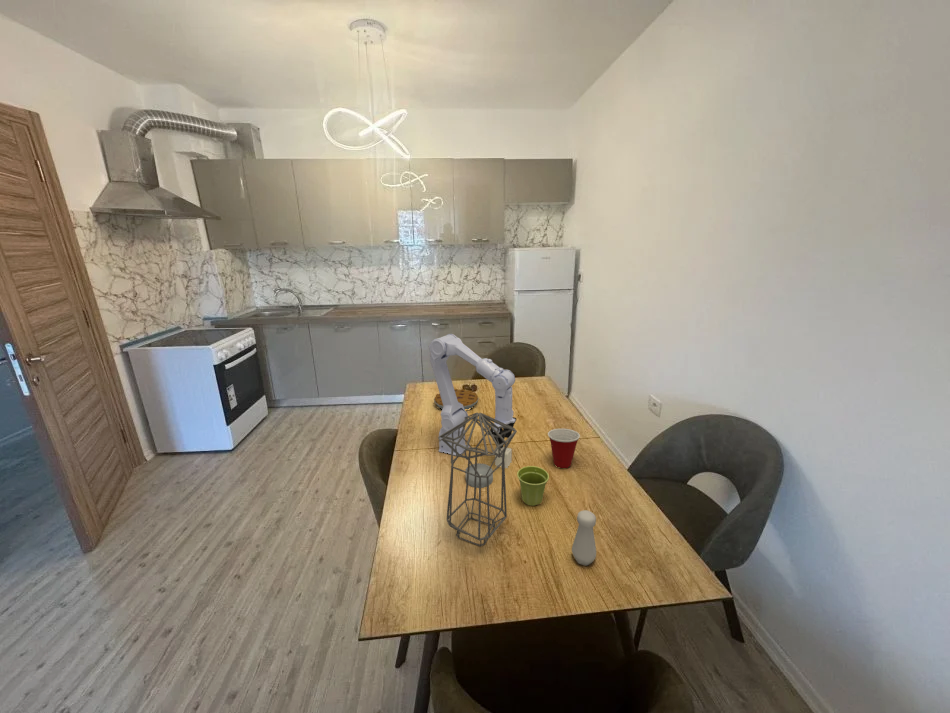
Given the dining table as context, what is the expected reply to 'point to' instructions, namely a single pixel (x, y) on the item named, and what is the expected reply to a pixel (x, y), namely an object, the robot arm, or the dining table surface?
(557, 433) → the plastic cup
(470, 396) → the pie
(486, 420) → the geometric lantern
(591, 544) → the salt shaker
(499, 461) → the cream block
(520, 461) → the dining table surface
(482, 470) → the grey disc
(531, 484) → the plant pot
